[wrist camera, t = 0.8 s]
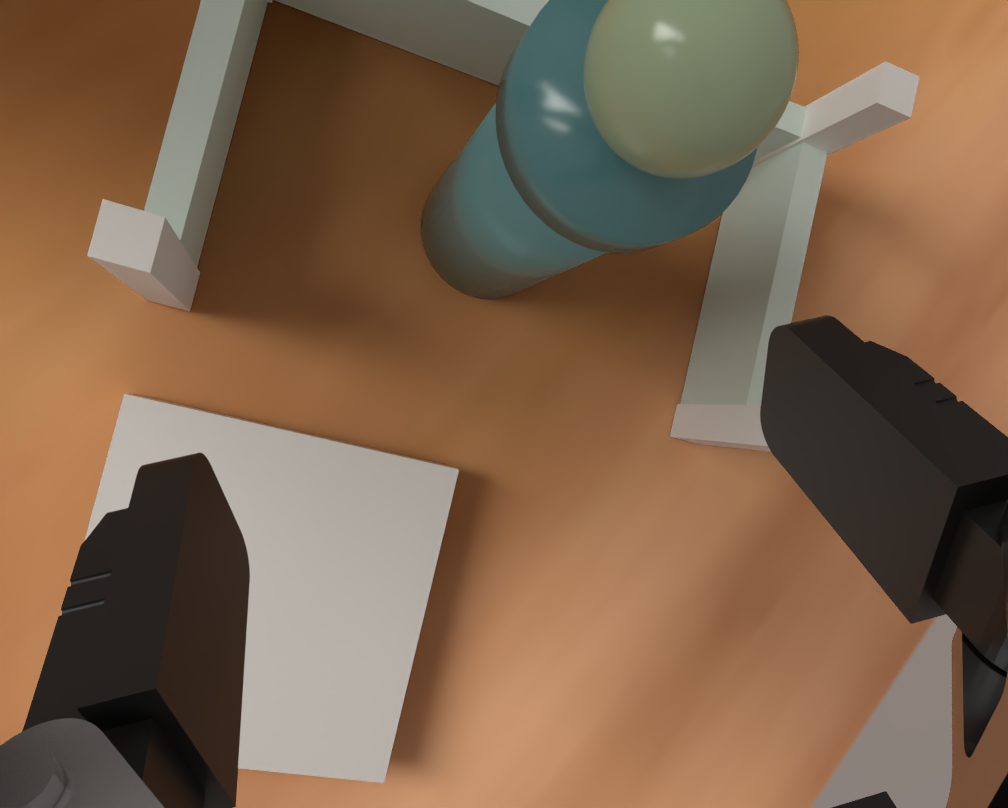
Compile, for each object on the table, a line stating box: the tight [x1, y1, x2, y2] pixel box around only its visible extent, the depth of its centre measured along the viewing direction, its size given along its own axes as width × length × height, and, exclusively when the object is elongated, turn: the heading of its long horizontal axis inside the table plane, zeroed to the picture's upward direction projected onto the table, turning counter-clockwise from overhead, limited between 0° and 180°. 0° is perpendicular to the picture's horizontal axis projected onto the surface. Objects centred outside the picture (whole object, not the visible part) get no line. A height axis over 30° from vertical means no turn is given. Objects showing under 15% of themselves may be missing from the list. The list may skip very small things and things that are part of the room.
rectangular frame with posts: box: [87, 0, 919, 452], centre depth 27 cm, size 14×24×9 cm, turn 76°
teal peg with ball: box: [421, 0, 799, 299], centre depth 23 cm, size 6×6×18 cm
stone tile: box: [85, 394, 459, 783], centre depth 28 cm, size 12×12×2 cm
